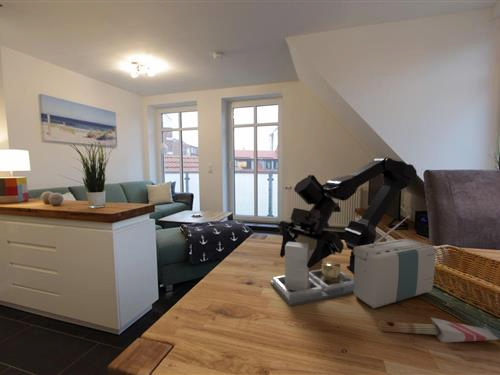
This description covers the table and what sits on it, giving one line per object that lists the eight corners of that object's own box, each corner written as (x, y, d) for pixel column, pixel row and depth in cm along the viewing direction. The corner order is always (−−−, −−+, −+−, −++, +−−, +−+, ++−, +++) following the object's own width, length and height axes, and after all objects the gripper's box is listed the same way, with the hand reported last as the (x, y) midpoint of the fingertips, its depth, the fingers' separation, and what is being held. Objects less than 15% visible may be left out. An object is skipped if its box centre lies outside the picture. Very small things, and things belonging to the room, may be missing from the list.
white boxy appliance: (375, 313, 55) (379, 228, 53) (348, 295, 62) (351, 220, 60) (434, 295, 62) (440, 220, 60) (404, 281, 70) (408, 213, 68)
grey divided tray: (331, 272, 76) (332, 254, 75) (360, 291, 64) (361, 270, 64) (270, 283, 69) (270, 263, 68) (290, 306, 57) (291, 283, 57)
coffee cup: (298, 248, 98) (298, 212, 96) (325, 254, 91) (326, 215, 90) (284, 257, 88) (285, 217, 87) (314, 264, 82) (315, 221, 80)
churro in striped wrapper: (501, 334, 44) (382, 325, 48) (501, 348, 44) (382, 338, 48) (485, 320, 48) (376, 313, 51) (484, 333, 48) (376, 325, 52)
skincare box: (309, 285, 66) (310, 243, 65) (307, 293, 62) (308, 248, 61) (287, 282, 68) (287, 240, 67) (284, 289, 64) (284, 245, 63)
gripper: (282, 193, 72) (254, 236, 66) (339, 201, 58) (309, 256, 52) (299, 216, 78) (274, 257, 72) (354, 227, 63) (329, 280, 57)
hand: (293, 261), depth 63 cm, fingers open, 9 cm apart
